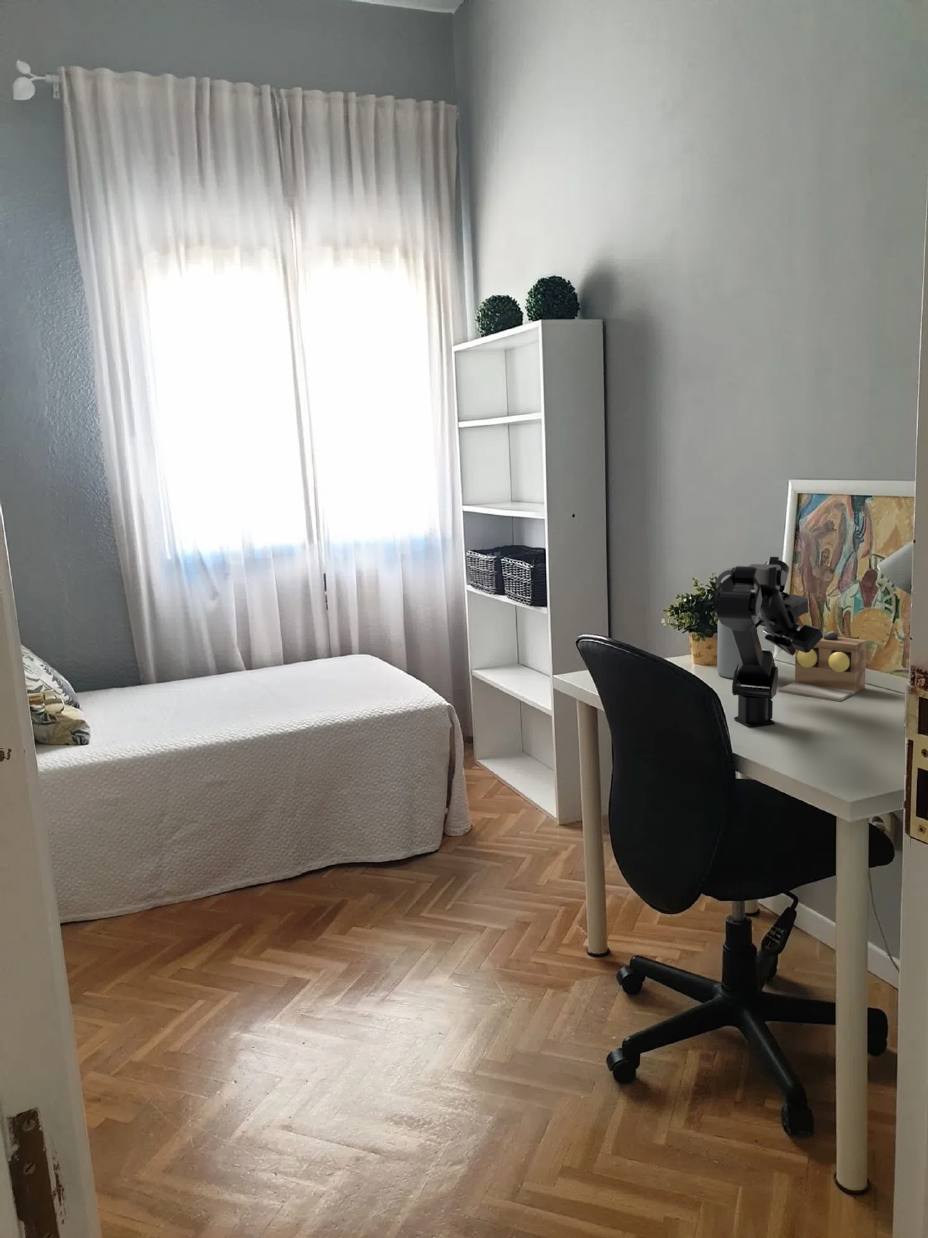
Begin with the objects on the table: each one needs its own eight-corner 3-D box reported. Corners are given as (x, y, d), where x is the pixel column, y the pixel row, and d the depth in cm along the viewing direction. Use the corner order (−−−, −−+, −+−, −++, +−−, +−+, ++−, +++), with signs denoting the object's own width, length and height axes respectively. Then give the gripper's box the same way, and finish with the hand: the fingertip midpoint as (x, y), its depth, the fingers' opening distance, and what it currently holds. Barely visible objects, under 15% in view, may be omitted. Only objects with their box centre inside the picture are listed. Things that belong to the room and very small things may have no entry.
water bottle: (714, 678, 248) (715, 571, 242) (716, 669, 257) (717, 566, 251) (755, 680, 245) (757, 571, 239) (756, 670, 254) (757, 566, 248)
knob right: (847, 673, 227) (848, 653, 226) (828, 670, 231) (828, 651, 230) (861, 667, 233) (862, 647, 232) (842, 664, 236) (842, 645, 235)
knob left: (815, 668, 233) (816, 649, 232) (796, 666, 236) (797, 647, 235) (829, 662, 238) (830, 643, 237) (811, 660, 242) (811, 641, 241)
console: (839, 701, 223) (840, 644, 220) (778, 691, 233) (779, 636, 231) (864, 688, 233) (866, 633, 230) (805, 679, 243) (807, 626, 241)
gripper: (828, 594, 211) (847, 642, 220) (762, 574, 227) (783, 620, 235) (796, 628, 209) (817, 675, 217) (732, 606, 224) (754, 651, 232)
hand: (792, 653), depth 226 cm, fingers closed
